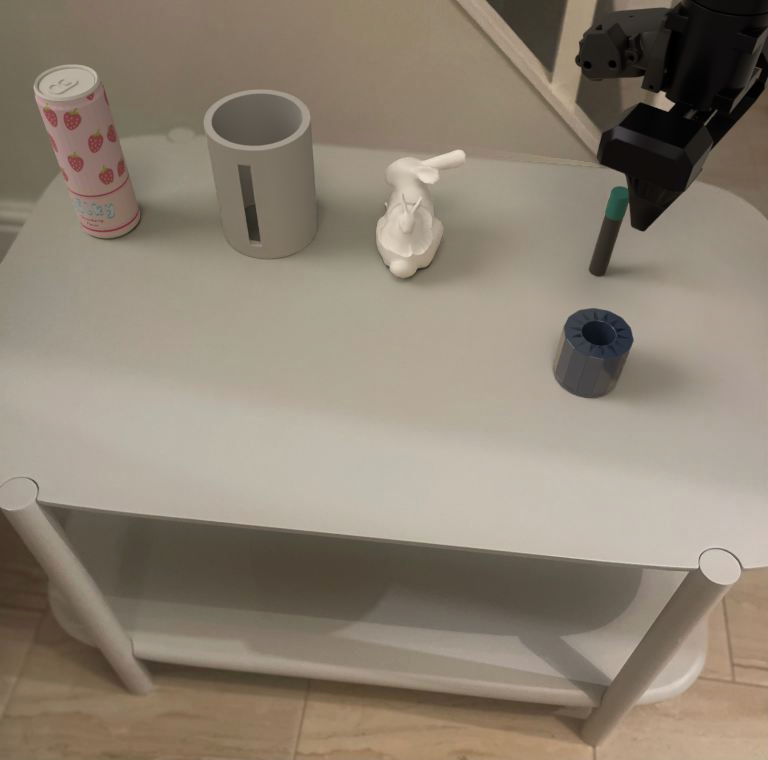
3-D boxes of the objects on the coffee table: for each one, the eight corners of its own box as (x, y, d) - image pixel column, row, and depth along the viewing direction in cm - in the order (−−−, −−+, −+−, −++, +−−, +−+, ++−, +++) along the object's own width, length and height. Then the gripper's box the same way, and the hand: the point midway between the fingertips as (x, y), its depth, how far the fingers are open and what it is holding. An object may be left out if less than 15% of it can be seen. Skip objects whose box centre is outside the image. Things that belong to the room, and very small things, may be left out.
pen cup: (593, 340, 69) (607, 300, 65) (631, 386, 66) (647, 346, 62) (540, 359, 67) (551, 319, 63) (576, 407, 64) (589, 368, 60)
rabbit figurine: (384, 201, 80) (386, 117, 73) (459, 207, 80) (469, 123, 72) (370, 284, 73) (370, 200, 65) (452, 292, 72) (462, 208, 65)
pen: (599, 262, 75) (623, 183, 68) (609, 273, 74) (635, 195, 67) (584, 267, 75) (607, 188, 67) (594, 278, 74) (618, 200, 66)
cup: (306, 190, 81) (298, 83, 72) (326, 249, 76) (320, 141, 66) (217, 205, 79) (197, 97, 70) (231, 266, 74) (211, 157, 65)
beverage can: (72, 237, 76) (19, 96, 64) (94, 200, 80) (46, 59, 68) (130, 243, 76) (86, 102, 64) (148, 205, 79) (110, 65, 67)
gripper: (670, -85, 57) (619, 109, 69) (545, 15, 48) (512, 220, 60) (827, -46, 53) (744, 153, 65) (725, 73, 43) (650, 281, 56)
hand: (663, 197), depth 61 cm, fingers open, 9 cm apart
